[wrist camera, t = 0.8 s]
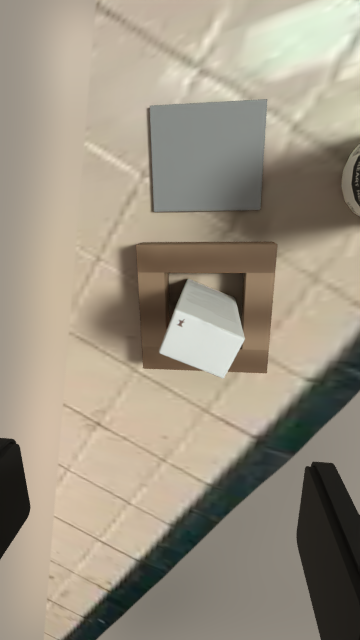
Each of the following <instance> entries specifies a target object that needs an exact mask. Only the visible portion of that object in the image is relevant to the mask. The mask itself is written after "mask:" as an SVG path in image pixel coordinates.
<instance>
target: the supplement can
mask: <svg viewBox="0 0 360 640" xmlns="http://www.w3.org/2000/svg"><path fill="white" fill-rule="evenodd" d="M341 188H342V192H343V196H344V200H345V202H346V204H347V205H348V206H349V208H350V209H351V210H352V212H353V213H355V214H356V215H358V216H360V144H359V145H358V146H357V147H356V148H355V149H354V151H353V152H352V153H351V154H350V156H349V158H348V161H347V163H346V165H345V167H344V169H343V176H342V184H341Z"/></svg>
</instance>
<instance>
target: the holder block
mask: <svg viewBox="0 0 360 640" xmlns="http://www.w3.org/2000/svg"><path fill="white" fill-rule="evenodd" d="M136 254H137V271H138V287H139V304H140V321H141V338H142V355H143V368H145V369H170V370H196V371H203V370H201V369H198V368H195V367H193V366H190V365H188V364H185V363H182V362H180V361H177V360H175V359H172V358H170V357H167V356H165V355H162V354H160V353H159V349H160V347H161V344H162V341H163V339H164V336H165V333H166V331H167V328H168V326H169V323H170V312H169V276H168V273H244V278H243V298H242V317H241V325H242V329H243V333H244V337H245V340H244V342H243V344H242V346H241V348H240V350H239V351H238V353H237V355H236V357H235V359H234V361H233V363H232V364H231V366H230V368H229V370H228V372H247V373H267V364H268V352H269V340H270V327H271V315H272V303H273V291H274V279H275V267H276V255H277V244H276V243H274V242H147V243H140V244H137V245H136Z"/></svg>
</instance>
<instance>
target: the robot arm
mask: <svg viewBox="0 0 360 640" xmlns="http://www.w3.org/2000/svg"><path fill="white" fill-rule="evenodd" d="M29 512H30V501H29V496H28V490H27V485H26V479H25V473H24V468H23V463H22V457H21V451H20V447H19V445H18V444H16V441H15V440H14V439H6V438H0V559H1V557H2V556H3V554H4V553H5V551H6V550H7V548H8V547H9V545H10V543H11V542H12V541H13V539H14V538H15V536H16V535H17V533H18V531H19V530H20V528H21V527H22V525H23V524H24V522H25V521H26V519H27V517H28V515H29ZM297 545H298V550H299V554H300V557H301V562H302V566H303V570H304V574H305V578H306V582H307V585H308V589H309V593H310V598H311V601H312V606H313V610H314V613H315V618H316V621H317V625H318V629H319V633H320V637H321V640H360V515H359V514H358V512H357V510H356V508H355V506H354V504H353V502H352V499H351V497H350V495H349V493H348V491H347V489H346V488H345V485H344V483H343V481H342V479H341V477H340V475H339V474H338V471H337V469H336V467H335V465H334V464H333V463H324V462H312V464H311V467H309V466H307V467H306V468H305V473H304V481H303V489H302V497H301V504H300V511H299V519H298V526H297Z"/></svg>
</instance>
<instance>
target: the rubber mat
mask: <svg viewBox="0 0 360 640" xmlns="http://www.w3.org/2000/svg"><path fill="white" fill-rule="evenodd" d="M266 111H267V99H262V100H244V101H226V102H208V103H190V104H172V105H154V106H150V124H151V149H152V174H153V199H154V212H168V211H225V210H260V206H261V190H262V174H263V159H264V143H265V127H266Z"/></svg>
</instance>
